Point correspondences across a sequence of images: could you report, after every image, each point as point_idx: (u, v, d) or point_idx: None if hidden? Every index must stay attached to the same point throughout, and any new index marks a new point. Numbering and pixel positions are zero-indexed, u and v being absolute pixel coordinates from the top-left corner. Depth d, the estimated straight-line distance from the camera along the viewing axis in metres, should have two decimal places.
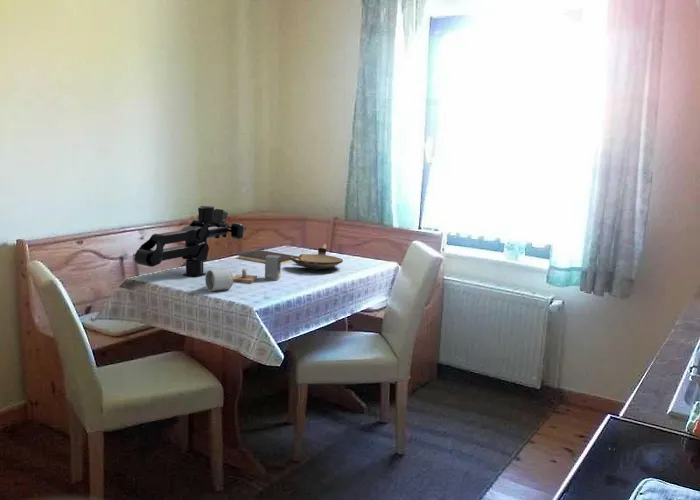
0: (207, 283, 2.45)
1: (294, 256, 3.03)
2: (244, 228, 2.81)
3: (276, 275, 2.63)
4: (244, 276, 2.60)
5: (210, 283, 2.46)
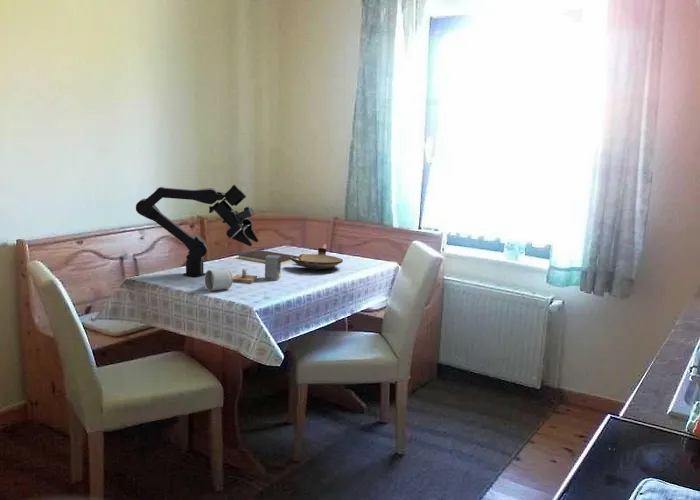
0: (206, 283, 2.46)
1: (294, 256, 3.03)
2: (249, 243, 2.59)
3: (276, 275, 2.63)
4: (244, 276, 2.60)
5: (209, 283, 2.46)
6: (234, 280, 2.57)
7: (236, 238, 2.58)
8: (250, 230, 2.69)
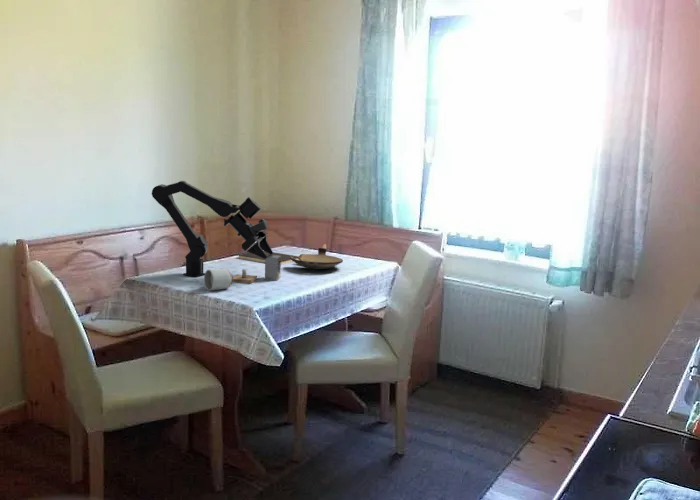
0: (206, 282, 2.46)
1: (294, 256, 3.03)
2: (264, 256, 2.59)
3: (276, 275, 2.63)
4: (244, 276, 2.60)
5: (209, 282, 2.47)
6: (234, 280, 2.57)
7: (251, 251, 2.58)
8: (265, 242, 2.69)
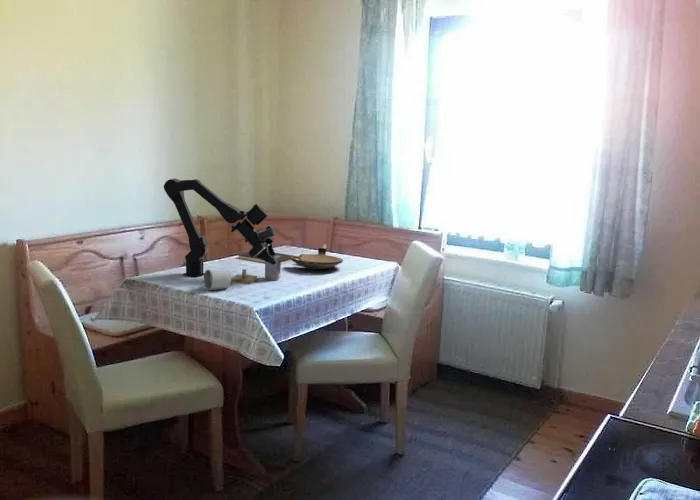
0: (205, 282, 2.46)
1: (294, 256, 3.03)
2: (272, 262, 2.61)
3: (276, 275, 2.63)
4: (244, 276, 2.60)
5: (208, 282, 2.47)
6: (234, 280, 2.57)
7: (260, 257, 2.60)
8: (270, 250, 2.67)
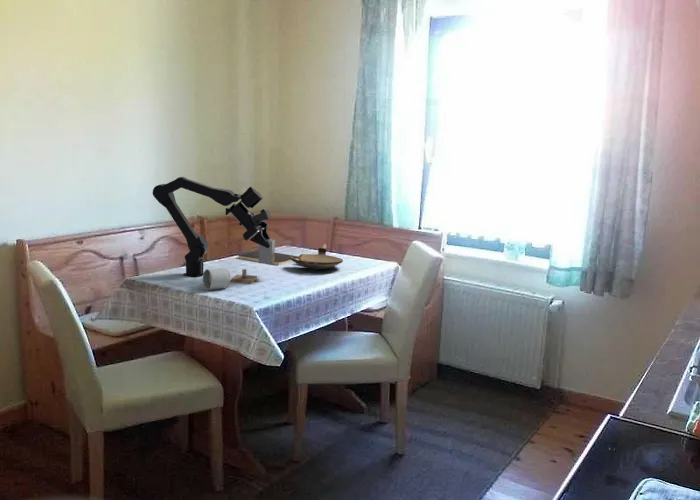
0: (204, 282, 2.47)
1: (294, 256, 3.03)
2: (266, 245, 2.59)
3: (270, 259, 2.61)
4: (244, 276, 2.60)
5: (207, 282, 2.47)
6: (234, 280, 2.57)
7: (254, 240, 2.58)
8: (265, 233, 2.65)
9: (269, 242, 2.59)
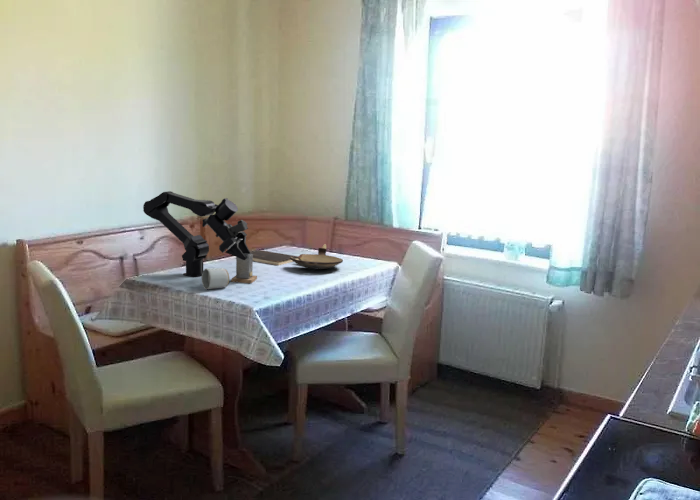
0: (203, 281, 2.47)
1: (294, 256, 3.03)
2: (243, 257, 2.55)
3: (247, 274, 2.58)
4: None
5: (206, 281, 2.48)
6: (234, 280, 2.57)
7: (230, 252, 2.54)
8: (243, 244, 2.63)
9: (246, 257, 2.57)
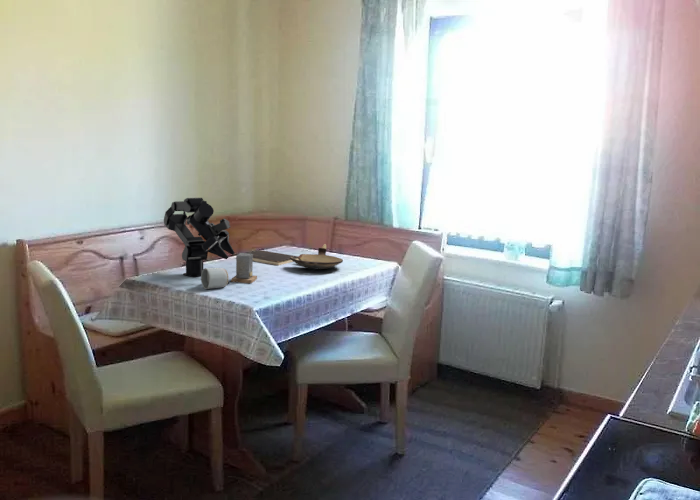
0: (203, 281, 2.48)
1: (294, 256, 3.03)
2: (225, 256, 2.55)
3: (247, 274, 2.58)
4: None
5: (206, 281, 2.49)
6: (234, 280, 2.57)
7: (212, 251, 2.54)
8: (226, 242, 2.65)
9: (246, 257, 2.57)
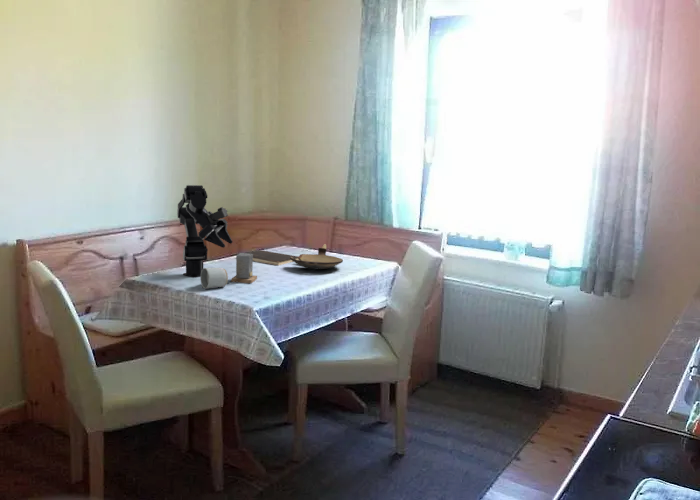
0: (202, 281, 2.48)
1: (294, 256, 3.03)
2: (222, 244, 2.54)
3: (247, 274, 2.58)
4: None
5: (205, 281, 2.49)
6: (234, 280, 2.57)
7: (209, 239, 2.53)
8: (224, 231, 2.64)
9: (246, 257, 2.57)
